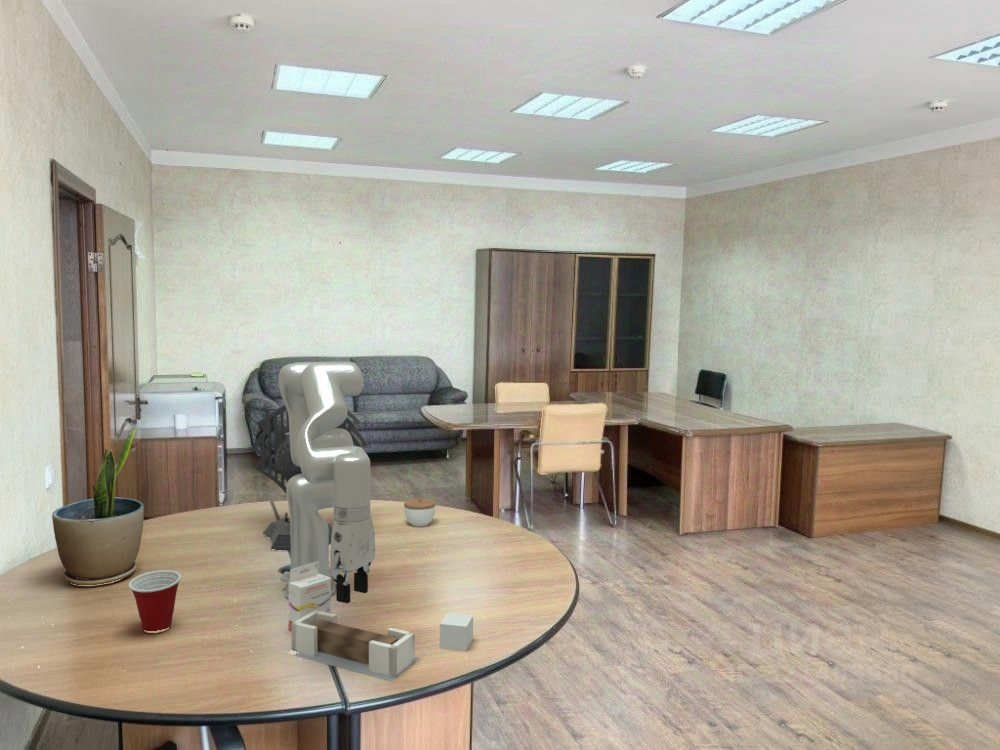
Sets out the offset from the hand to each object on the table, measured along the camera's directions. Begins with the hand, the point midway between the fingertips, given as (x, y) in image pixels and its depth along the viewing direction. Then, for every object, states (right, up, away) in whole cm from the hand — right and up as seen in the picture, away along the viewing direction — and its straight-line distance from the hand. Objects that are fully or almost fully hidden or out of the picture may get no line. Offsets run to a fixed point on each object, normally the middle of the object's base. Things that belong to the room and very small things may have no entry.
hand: (352, 595), depth 157 cm
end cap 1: (-9, -12, +5) cm, 16 cm away
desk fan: (-31, -6, +79) cm, 85 cm away
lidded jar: (+4, -5, +98) cm, 99 cm away
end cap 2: (+9, -13, -3) cm, 16 cm away
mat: (0, -13, +1) cm, 13 cm away
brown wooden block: (0, -13, +1) cm, 13 cm away
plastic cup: (-47, -12, +13) cm, 51 cm away
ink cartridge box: (-13, -12, +15) cm, 23 cm away
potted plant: (-77, -8, +45) cm, 89 cm away
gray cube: (+22, -13, +8) cm, 27 cm away
